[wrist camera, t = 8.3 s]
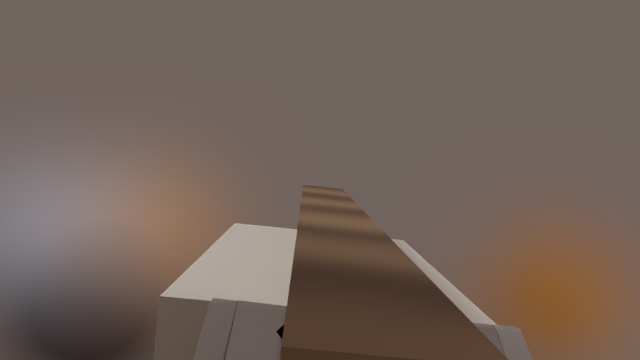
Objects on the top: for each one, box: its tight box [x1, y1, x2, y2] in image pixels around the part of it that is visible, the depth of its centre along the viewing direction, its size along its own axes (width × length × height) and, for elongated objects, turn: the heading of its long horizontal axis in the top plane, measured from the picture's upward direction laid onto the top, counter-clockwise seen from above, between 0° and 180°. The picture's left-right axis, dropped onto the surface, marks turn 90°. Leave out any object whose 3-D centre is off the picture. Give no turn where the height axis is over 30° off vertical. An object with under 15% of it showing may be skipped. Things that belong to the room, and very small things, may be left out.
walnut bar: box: [280, 185, 508, 360], centre depth 22 cm, size 32×3×3 cm, turn 1°
